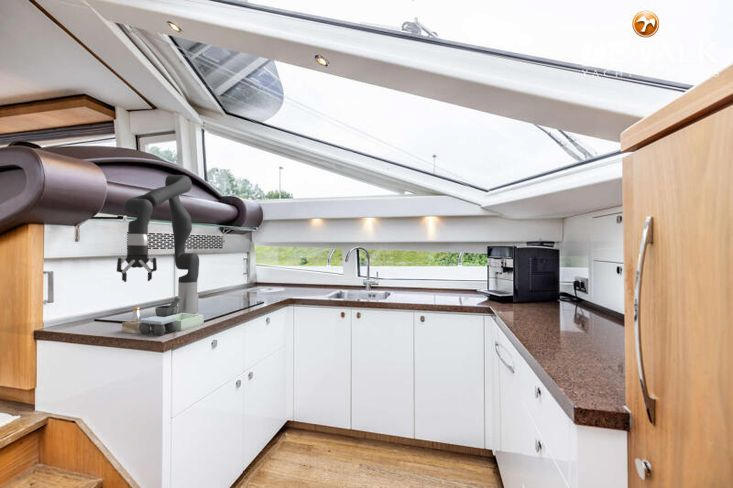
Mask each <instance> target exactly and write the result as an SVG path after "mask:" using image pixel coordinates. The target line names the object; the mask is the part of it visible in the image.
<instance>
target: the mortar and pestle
mask: <svg viewBox="0 0 733 488" xmlns="http://www.w3.org/2000/svg"><path fill="white" fill-rule="evenodd" d="M180 300H181V298H180V297H178V296H177V295H176V296H175V297H174V299H173V301H171V303H170V304H169V305H167V304H166V305H159V306H156V307H155V308H154V309H155V316H157V317H167V316H171V315H176V314H178V302H179V301H180Z"/></svg>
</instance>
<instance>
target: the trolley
mask: <svg viewBox="0 0 733 488" xmlns="http://www.w3.org/2000/svg"><path fill="white" fill-rule="evenodd" d="M174 321H176V318H168V317H157V315H154V316H149V317H145V318H140V320H139V322H140V323H141V324H140V325H139V331H140V332H139V333H140V334H142V335H145V334H148V333H149V332H150V331H151V330H152V332H153V333H154V335H156V336H162V335H164V334H165V332H166V333H168V334H169V333H172V332H175V328H176V325H175V323H174ZM149 323H150V325H149ZM163 324H165V326H164V325H163Z"/></svg>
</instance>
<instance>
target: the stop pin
mask: <svg viewBox="0 0 733 488" xmlns="http://www.w3.org/2000/svg"><path fill="white" fill-rule="evenodd" d="M140 309H141V308H140V307H139V306H137V307H136V306H135V307H133V308H132V320H133V322H135V323H136V322H139V320H140V319H141V318H140V314H141V313H140V312H141V311H140Z"/></svg>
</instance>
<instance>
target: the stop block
mask: <svg viewBox="0 0 733 488" xmlns="http://www.w3.org/2000/svg"><path fill="white" fill-rule="evenodd" d="M140 324H141V323H140V322H136V323H135V322H133V319H132V320H128V321H122V323H121V325H122V326H121V333H131V334H137V333H141V332H140V331H139V325H140ZM149 325H150V323H149Z"/></svg>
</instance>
